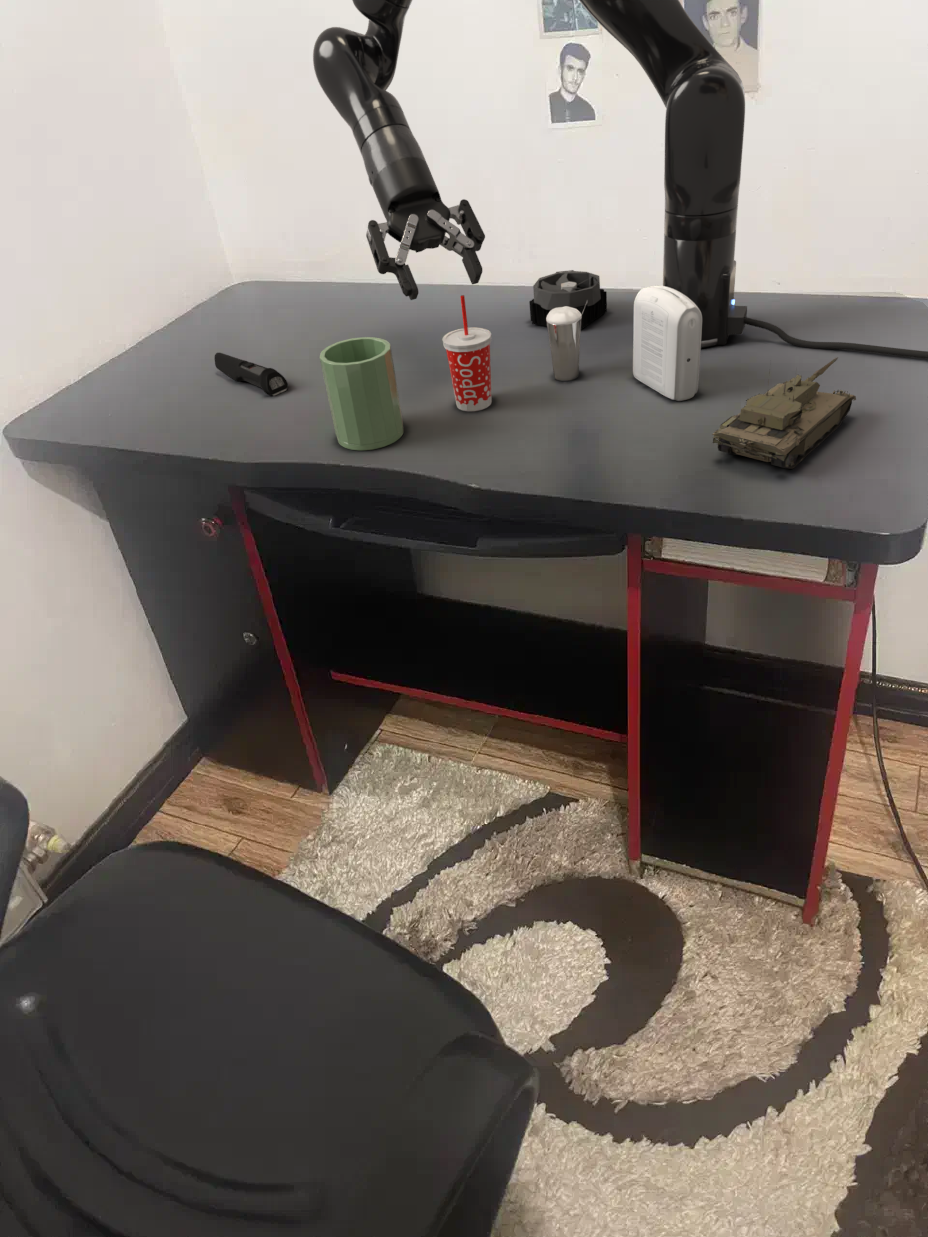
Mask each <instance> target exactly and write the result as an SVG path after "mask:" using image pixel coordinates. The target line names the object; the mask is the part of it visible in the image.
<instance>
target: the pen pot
mask: <svg viewBox="0 0 928 1237" xmlns="http://www.w3.org/2000/svg"><path fill="white" fill-rule="evenodd" d="M319 362H320V367H321V371H322V376H323V381H324V386H325V389H326V395H327V400H328V405H329V409H330V413H331V418H332V423H333V428H334V433H335V437H336V439H337V443H338V444H339V445H340V446H341V447H342V448H345V449H348V450H352V451H371V450H372V451H373V450H377V449H382V448H385V447H388V446H390V445H392V444H394V443H396V442H397V441H398V440H399V439H400V438H401V437H402V436H403V434H404V432H405V428H404V418H403V413H402V409H401V408H402V407H401V402H400V395H399V390H398V383H397V377H396V371H395V364H394V358H393V352H392V346H391V343H390V342H389V341H388V340H386V339H383V338H379V337H376V336H373V337H372V336H361V337H353V338H347V339H344V340H340V341H337V342H335V343H332V344H330V345H328V346H327V347H325V348H324V349H323V350H322V351H320V355H319Z"/></svg>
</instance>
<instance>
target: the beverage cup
mask: <svg viewBox="0 0 928 1237" xmlns="http://www.w3.org/2000/svg"><path fill="white" fill-rule="evenodd" d="M459 297H460V304H461V313H462V314H461V316H462V324H463V328H457V329H455V330H452V331H451V330H450V331H449V332H447V333H446V334H444V335H443V337H442V339H441V340H442V343H443V347H444V349H445V352H446V356H447V363H448V368H449V373H450V378H451V383H452V389H453V394H454V399H455V404H456V408H457V409H458V410H460V411H463V412H479V411H482V410H486V409H487V408H489V407H490V406H491V405H492V402H493V399H492V398H493V397H492V369H491V367H492V366H491V342H492V333H491V331H490V330H488V329H486V328H485V327H476V326H475V327H469V326H468V316H467V307H466V298H465V295H464V294H463V295H462V294H461V295H460V296H459Z"/></svg>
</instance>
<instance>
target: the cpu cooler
mask: <svg viewBox="0 0 928 1237" xmlns="http://www.w3.org/2000/svg"><path fill="white" fill-rule="evenodd" d="M600 280H601V279H600V275H599V274H595V273H592V272H588V271H581V270H574V269H571V270H570V269H569V270H560V271H556V272H553V273H551V274H548V275H545V276H542V277H539V278H538V279H537V280H536V281H535V283H534V284H533V285H532V286H533V290H532V291H533V298H532V299H531V300H529V302H528V304H529V315H530V316H529V317H530V322H531V324H532V325H537V326H544V327H547V321H546V317H547V315H548V313H549V312H550V311H551V310H552V309H554V308H558V307H564V306H568V307H572V308H575V309H577V310H578V311H579V312H580V313H581V315H582V317H581V329H584V328H585V327H587V326H588V325H590V324H591V323H593V322H594V321H596V320H597V319H598V318H600V317H601V316H602V315H605V313H607V312H608V300H607V298H608V296H607V291H605V289H604V288H601V281H600ZM587 300H588V301H587ZM586 302H587V304H586ZM585 305H586V306H585ZM584 307H585V309H584ZM583 310H584V311H583ZM582 312H583V314H582Z"/></svg>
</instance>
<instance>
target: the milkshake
mask: <svg viewBox="0 0 928 1237" xmlns="http://www.w3.org/2000/svg"><path fill="white" fill-rule="evenodd" d="M587 301H588V300H587ZM586 304H587V302H586ZM585 306H586V305H585ZM584 309H585V307H584ZM583 311H584V310H583ZM582 314H583V312H582ZM581 317H582V315H581V313H580V312H579V311H578V310H577V309H575V308H572V307H568V306H564V307H558V308H554V309H552V310H551V311H550V312H549V313H548V315H547V317H546V321H547V326H546V328H547V333H548V334H547V335H548V341H549V347H550V348H549V349H550V355H551V363H552V373H553V376H554V379H555V380H557V381H560V382H567V381H568V382H570V381H573V380H575V379H577V378H578V377H579V375H580V374H579V373H580V370H579V369H580V352H581V351H580V350H581V330H582V328H581Z"/></svg>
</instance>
